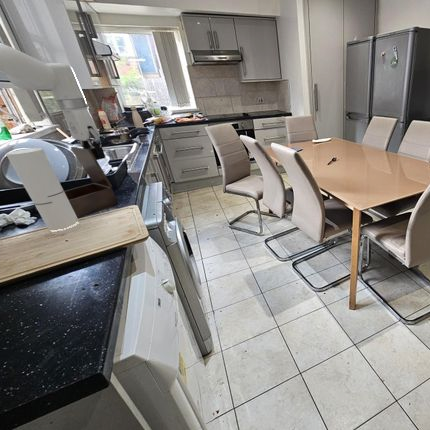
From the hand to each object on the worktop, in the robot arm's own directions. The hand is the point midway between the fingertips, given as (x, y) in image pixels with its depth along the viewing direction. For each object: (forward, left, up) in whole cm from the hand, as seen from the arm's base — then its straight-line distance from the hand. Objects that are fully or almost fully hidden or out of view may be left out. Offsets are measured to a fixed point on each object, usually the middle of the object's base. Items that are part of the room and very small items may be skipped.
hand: (96, 157), depth 99 cm
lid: (-2, -2, -3) cm, 4 cm away
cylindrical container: (-4, -25, -17) cm, 31 cm away
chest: (-6, -6, -17) cm, 19 cm away
